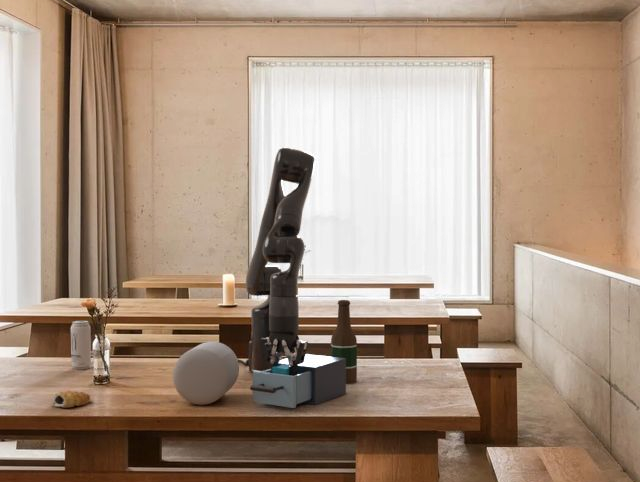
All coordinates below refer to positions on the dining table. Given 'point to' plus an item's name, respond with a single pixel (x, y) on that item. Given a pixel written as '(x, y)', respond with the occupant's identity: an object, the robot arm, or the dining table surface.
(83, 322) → the energy drink can
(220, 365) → the grey rounded piece
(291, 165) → the robot arm
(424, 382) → the dining table surface
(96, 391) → the dining table surface
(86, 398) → the pastry
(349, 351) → the beer bottle
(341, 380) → the cabinet
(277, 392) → the drawer
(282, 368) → the teal cube block
